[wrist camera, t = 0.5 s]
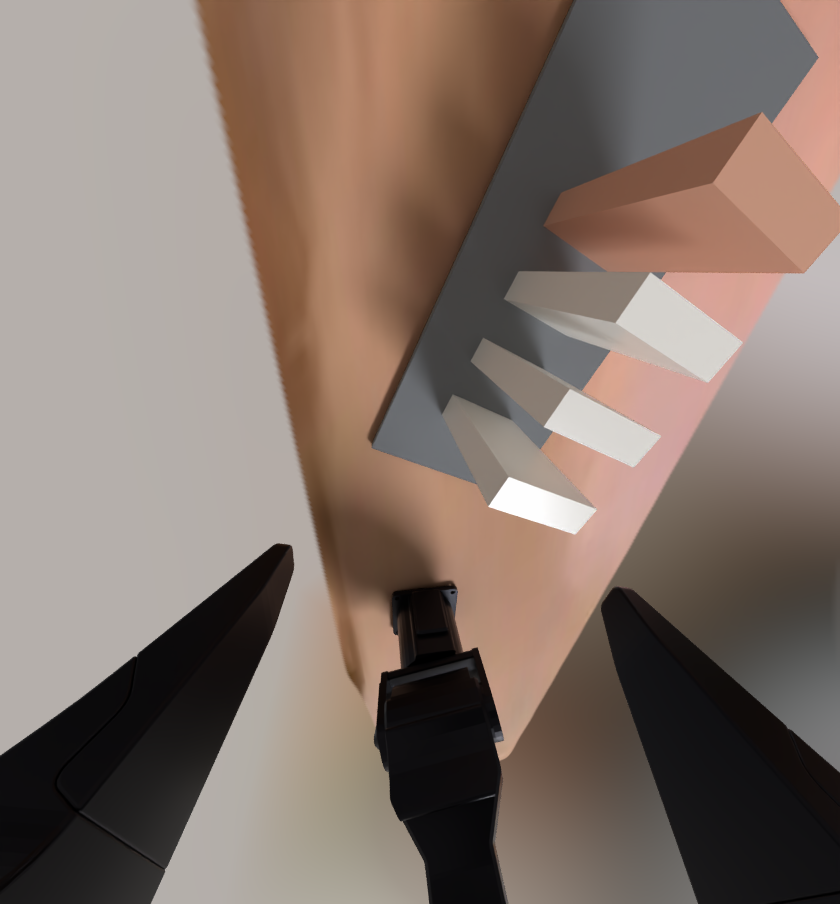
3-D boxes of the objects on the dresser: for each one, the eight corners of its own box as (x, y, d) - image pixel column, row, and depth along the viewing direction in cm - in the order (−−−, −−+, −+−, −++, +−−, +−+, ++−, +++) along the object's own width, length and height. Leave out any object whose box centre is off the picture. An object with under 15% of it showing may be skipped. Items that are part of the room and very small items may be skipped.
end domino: (607, 271, 19) (804, 273, 10) (543, 225, 17) (712, 182, 9) (625, 243, 18) (851, 219, 10) (560, 192, 17) (761, 112, 8)
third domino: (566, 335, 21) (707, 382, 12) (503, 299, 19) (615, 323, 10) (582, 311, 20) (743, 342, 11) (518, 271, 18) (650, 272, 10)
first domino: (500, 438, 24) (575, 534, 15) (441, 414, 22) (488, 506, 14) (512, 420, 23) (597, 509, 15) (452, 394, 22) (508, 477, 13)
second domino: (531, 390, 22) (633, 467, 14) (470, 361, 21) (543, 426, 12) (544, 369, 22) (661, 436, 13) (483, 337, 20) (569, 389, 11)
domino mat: (505, 490, 27) (507, 494, 27) (371, 444, 23) (371, 448, 23) (804, 64, 16) (818, 57, 16) (645, -159, 12) (658, -178, 12)
